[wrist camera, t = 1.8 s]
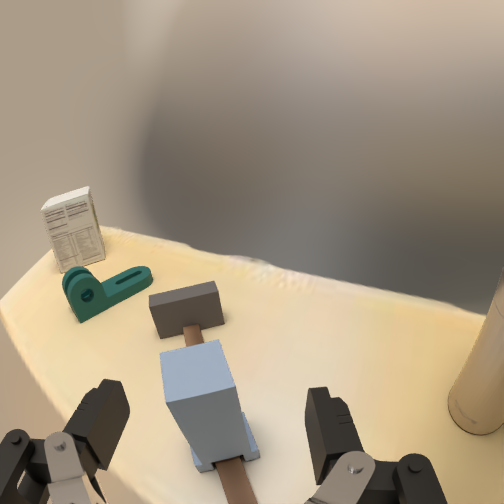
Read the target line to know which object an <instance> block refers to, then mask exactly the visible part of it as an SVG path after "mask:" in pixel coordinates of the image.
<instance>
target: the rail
mask: <svg viewBox="0 0 504 504" xmlns="http://www.w3.org/2000/svg"><path fill="white" fill-rule="evenodd" d="M183 331H184V336H185V341H186V346H187V347H189V346H193V345H198V344H202V343H204V342H203V339H202V335H201V331H200V328H199V324H195V325H191V326H187V327H183ZM215 463H216V466H217V469H218V473H219V476H220V479H221V482H222V485H223V488H224V491H225V494H226V497H227V500H228V503H229V504H258V503H257V501H256V498H255V496H254V493H253V491H252V488H251V486H250V483H249V481H248V478H247V475H246V473H245V470H244V467H243V465H242V462H241V459H240V456H236V457H232V458H228V459H224V460H220V461H216V462H215Z"/></svg>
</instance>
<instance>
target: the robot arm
mask: <svg viewBox="0 0 504 504" xmlns="http://www.w3.org/2000/svg"><path fill="white" fill-rule="evenodd" d="M448 406H449V410H450V413H451V415H452V418H453V419H454V421H455V422H456V423H457V424H458V425H459V426H460V427H461V428H462V429H464V430H466V431H467V432H470V433H473V434H480V435H482V434H488V433H491V432H493V431H495V430H497V429H498V428H499V427H500V426H501V425H502V424H503V423H504V266H503V270H502V273H501V276H500V279H499V283H498V286H497V289H496V292H495V295H494V298H493V301H492V303H491V306H490V309H489V311H488V314H487V316H486V319H485V321H484V324H483V326H482V329H481V331H480V333H479V335H478V338H477V340H476V342H475V344H474V346H473V349H472V351H471V353H470V355H469V357H468V359H467V361H466V363H465V365H464V367H463V369H462V371H461V372H460V374H459V376H458V378H457V380H456V382H455V383H454V385H453V387H452V389H451V391H450V393H449V398H448ZM129 415H130V407H129V403H128V401H127V398H126V395H125V392H124V389H123V386H122V383H121V382H120V381H115V380H109V379H103V380H102V382H101V383H100V385H99V387H98V388H93V389H92V390H90V391H89V392H88V393H87V394H85V396H84V398H83V399H82V401H81V404H79V405H78V407H77V410H75V412H74V413H73V415H72V417H71V418H70V420H69V422H68V423H67V425H66V427H65V428H64V430H63V431H62V432H55V433H53V434H51V435H49V436H48V437H47V438H46V440H44V439H30V437H29V435H28V434H27V433H26V432H25V431H24V430H21V429H15V430H12V431H10V432H8V433H7V434H6V436H5V437H4V439H3V440H2V442H1V444H0V504H47V501H48V499H49V496H51V500H52V504H109V503H108V501H107V498H106V496H105V494H104V492H103V489H102V487H101V485H100V482H99V480H98V478H97V475H96V474H95V473H96V471H97V469H98V468H99V469H102V470H107V469H108V466H109V464H110V461H111V459H112V456H113V454H114V452H115V449H116V447H117V444H118V442H119V440H120V437H121V435H122V432H123V430H124V428H125V425H126V423H127V421H128V418H129ZM305 427H306V432H307V437H308V442H309V448H310V453H311V458H312V464H313V469H314V474H315V480H316V485H321V486H320V487H319V489H318V490H317V491H316V493H315V494H314V495H313V497H312V498H309V499H308V500H307V501H306V502H305V503H304V504H447V501H446V499H445V496H444V493H443V491H442V488H441V486H440V483H439V481H438V478H437V476H436V474H435V471H434V469H433V466H432V464H431V462H430V460H429V459H428V458H427V457H425V456H424V455H421V454H416V453H414V454H408V455H406V456H404V457H402V458H401V459H400V461H399V462H387V461H378V460H375V459H373V458H372V457H371V456H370V455H368V454H367V453H365V452H364V450H363V447H362V444H361V442H360V439H359V436H358V433H357V430H356V428H355V425H354V423H353V419H352V417H351V415H350V411H349V408H348V406H347V404H346V403H345V402H344V401H343V400H342V399H341V398H340V397H336V398H331V397H330V394H329V391H328V388H327V387H317V388H309V389H308V395H307V402H306V409H305ZM23 471H25V472H26V473H25V475H24V477H23V479H22V481H21V483H20V485H19V487H18V490H17V483H18V481H19V479H20V477H21V475H22V473H23Z"/></svg>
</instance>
